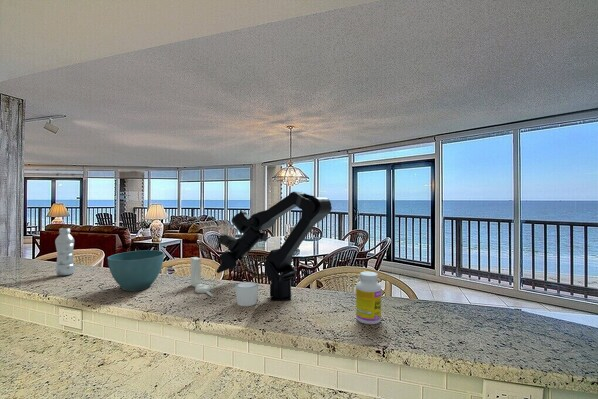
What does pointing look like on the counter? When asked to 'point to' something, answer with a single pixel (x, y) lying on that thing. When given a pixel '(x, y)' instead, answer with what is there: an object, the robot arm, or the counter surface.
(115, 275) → the teal bowl
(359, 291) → the supplement bottle
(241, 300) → the white cup
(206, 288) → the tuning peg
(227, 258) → the robot arm
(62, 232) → the plastic bottle
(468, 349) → the counter surface
